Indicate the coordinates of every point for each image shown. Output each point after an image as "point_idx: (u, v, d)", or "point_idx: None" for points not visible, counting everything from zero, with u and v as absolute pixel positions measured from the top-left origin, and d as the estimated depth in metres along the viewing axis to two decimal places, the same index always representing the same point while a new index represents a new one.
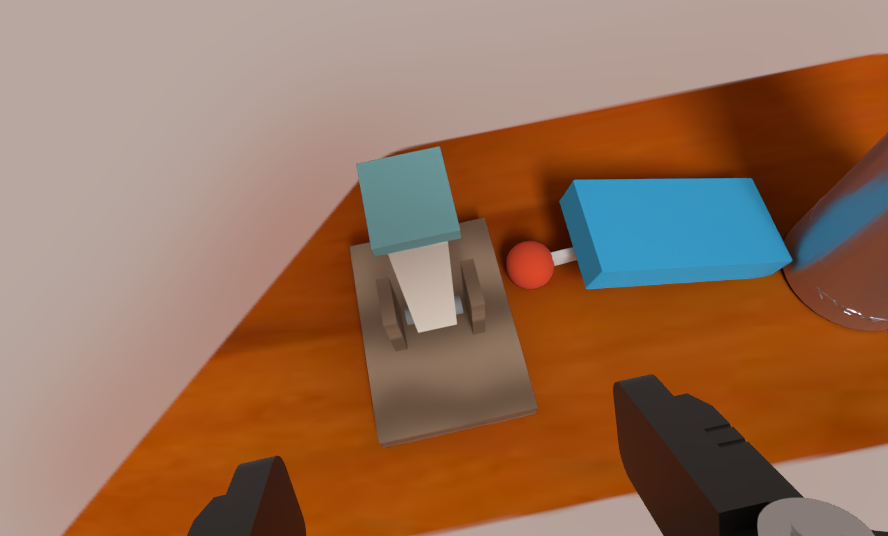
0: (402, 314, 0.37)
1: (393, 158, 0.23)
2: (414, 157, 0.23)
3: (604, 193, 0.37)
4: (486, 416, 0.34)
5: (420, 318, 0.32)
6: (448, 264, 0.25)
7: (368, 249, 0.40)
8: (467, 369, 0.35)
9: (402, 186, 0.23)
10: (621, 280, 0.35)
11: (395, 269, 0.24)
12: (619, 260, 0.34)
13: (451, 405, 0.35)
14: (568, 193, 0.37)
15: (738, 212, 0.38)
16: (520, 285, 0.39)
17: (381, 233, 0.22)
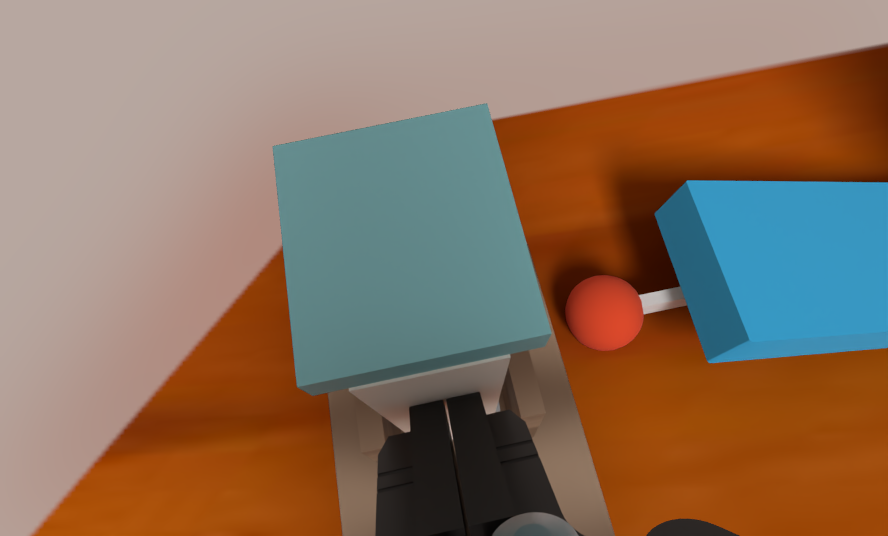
0: None
1: (368, 133, 0.09)
2: (421, 130, 0.09)
3: (735, 203, 0.22)
4: None
5: None
6: (498, 385, 0.11)
7: None
8: None
9: (391, 206, 0.09)
10: (770, 350, 0.21)
11: (373, 405, 0.10)
12: (774, 320, 0.20)
13: None
14: (674, 202, 0.23)
15: None
16: (589, 345, 0.24)
17: (328, 339, 0.08)
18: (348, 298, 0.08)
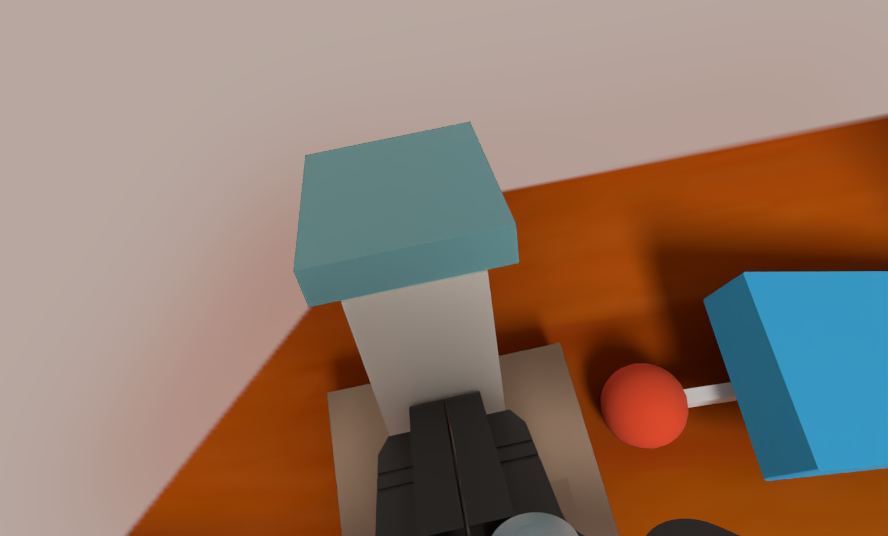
0: None
1: (378, 143, 0.12)
2: (418, 138, 0.12)
3: (797, 298, 0.20)
4: None
5: None
6: (495, 368, 0.11)
7: (360, 400, 0.23)
8: None
9: (389, 173, 0.11)
10: (836, 471, 0.19)
11: (369, 368, 0.10)
12: (845, 443, 0.18)
13: None
14: (728, 293, 0.21)
15: None
16: (627, 442, 0.22)
17: (325, 243, 0.09)
18: (347, 220, 0.10)
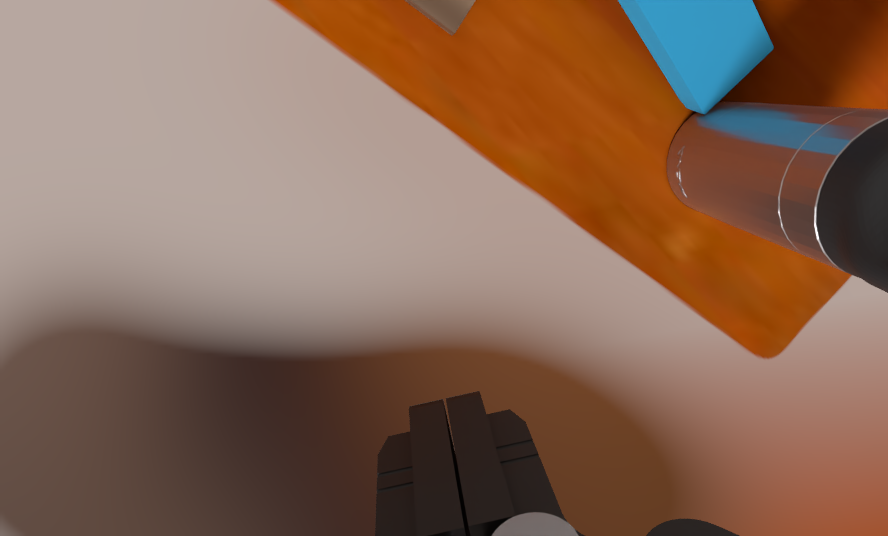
0: None
1: None
2: None
3: None
4: (419, 3, 0.39)
5: None
6: None
7: None
8: None
9: None
10: None
11: None
12: None
13: None
14: None
15: (731, 52, 0.41)
16: None
17: None
18: None
